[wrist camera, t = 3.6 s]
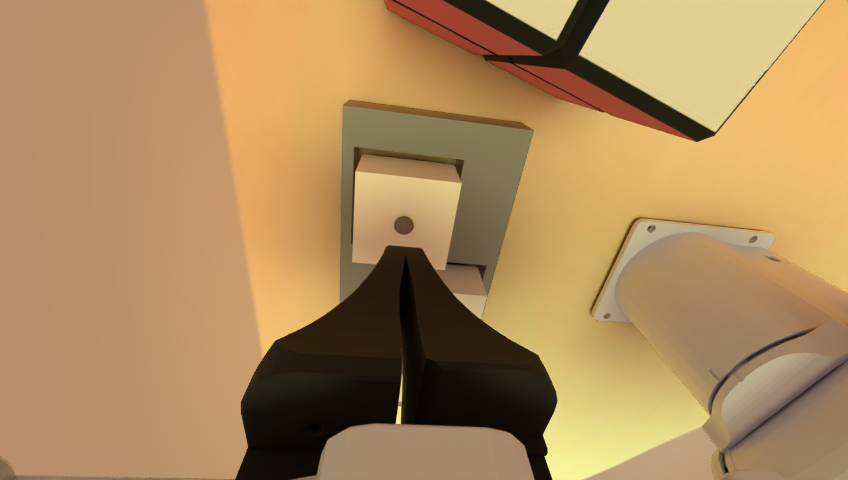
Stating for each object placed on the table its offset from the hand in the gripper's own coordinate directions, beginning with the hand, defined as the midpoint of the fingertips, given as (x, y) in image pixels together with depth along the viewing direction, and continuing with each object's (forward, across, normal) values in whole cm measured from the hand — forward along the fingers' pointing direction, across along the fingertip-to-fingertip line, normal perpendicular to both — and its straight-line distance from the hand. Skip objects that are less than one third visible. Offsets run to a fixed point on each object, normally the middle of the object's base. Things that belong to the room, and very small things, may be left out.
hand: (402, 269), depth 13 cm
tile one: (+6, 0, 0) cm, 6 cm away
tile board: (+8, -1, +6) cm, 10 cm away
